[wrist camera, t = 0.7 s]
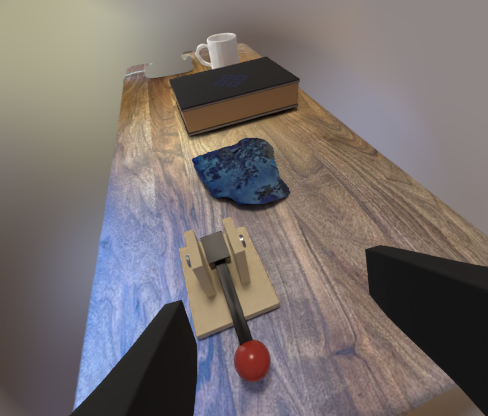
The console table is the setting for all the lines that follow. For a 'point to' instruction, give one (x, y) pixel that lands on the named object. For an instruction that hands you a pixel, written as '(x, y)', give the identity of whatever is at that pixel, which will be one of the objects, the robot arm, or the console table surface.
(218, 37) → the mug
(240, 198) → the rock
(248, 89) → the book
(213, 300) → the bracket
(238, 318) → the lever
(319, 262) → the console table surface
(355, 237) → the console table surface
